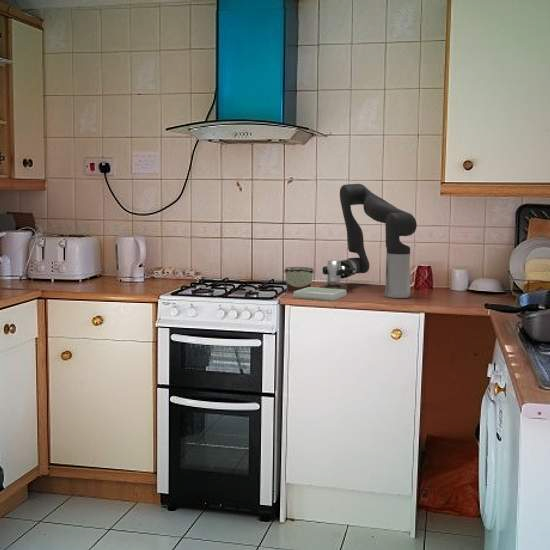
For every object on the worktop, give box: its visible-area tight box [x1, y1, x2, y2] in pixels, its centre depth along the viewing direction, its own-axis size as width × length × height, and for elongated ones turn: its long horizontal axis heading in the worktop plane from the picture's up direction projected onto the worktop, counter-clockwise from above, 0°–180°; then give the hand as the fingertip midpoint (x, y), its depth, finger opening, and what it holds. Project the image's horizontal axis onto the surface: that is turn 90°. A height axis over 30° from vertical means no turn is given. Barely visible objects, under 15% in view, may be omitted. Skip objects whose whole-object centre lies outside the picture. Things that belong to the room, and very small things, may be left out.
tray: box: [293, 286, 348, 302], centre depth 298 cm, size 16×16×2 cm
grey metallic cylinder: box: [326, 259, 342, 288], centre depth 311 cm, size 5×5×13 cm
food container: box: [283, 266, 315, 293], centre depth 312 cm, size 12×6×10 cm, turn 84°
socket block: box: [318, 284, 348, 293], centre depth 312 cm, size 9×9×2 cm
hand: (331, 272), depth 309 cm, fingers closed on grey metallic cylinder, 5 cm apart
